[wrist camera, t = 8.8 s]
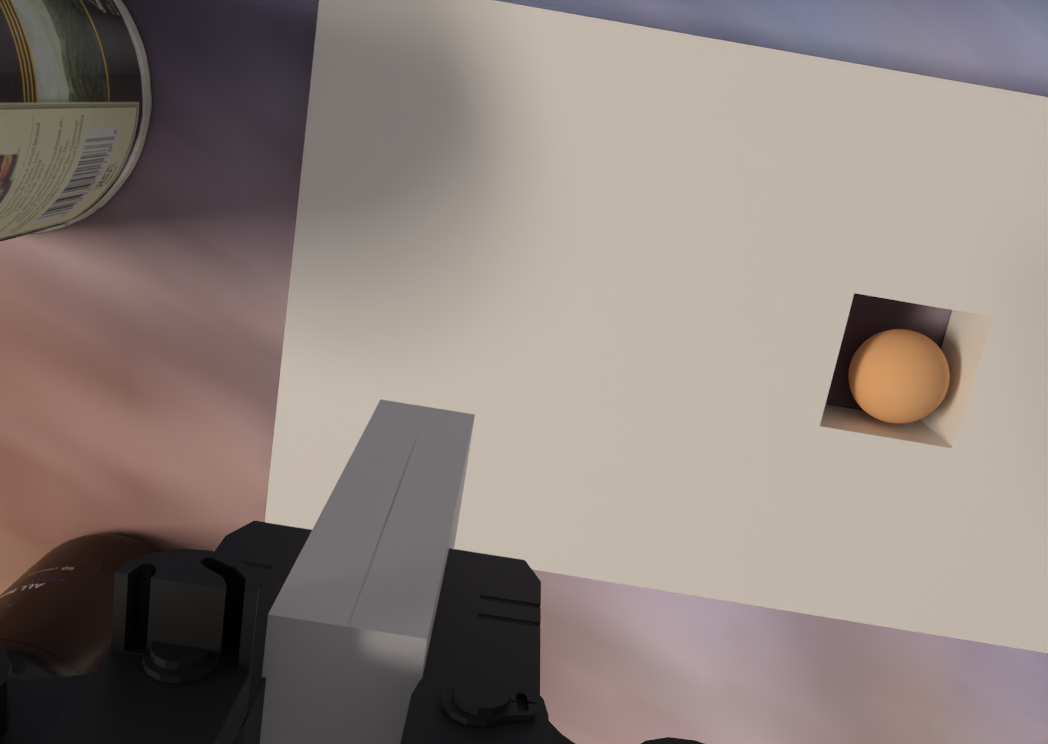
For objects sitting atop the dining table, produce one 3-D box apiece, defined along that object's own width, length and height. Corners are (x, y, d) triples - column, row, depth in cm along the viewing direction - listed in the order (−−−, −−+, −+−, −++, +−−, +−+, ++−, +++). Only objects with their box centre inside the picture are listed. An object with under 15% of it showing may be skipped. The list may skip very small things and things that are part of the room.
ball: (956, 348, 31) (966, 337, 34) (854, 323, 32) (871, 314, 35) (927, 444, 32) (939, 425, 35) (829, 414, 33) (847, 399, 36)
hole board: (342, -19, 32) (322, -30, 29) (1183, 129, 33) (1245, 131, 30) (286, 492, 37) (264, 525, 34) (1020, 612, 37) (1060, 655, 34)
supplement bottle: (60, 499, 37) (-160, 680, 26) (230, 570, 38) (90, 778, 26) (8, 646, 39) (-221, 878, 27) (171, 711, 39) (15, 966, 28)
